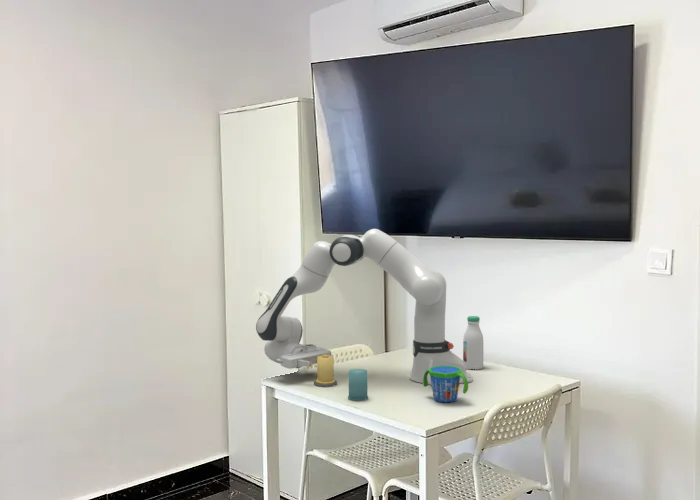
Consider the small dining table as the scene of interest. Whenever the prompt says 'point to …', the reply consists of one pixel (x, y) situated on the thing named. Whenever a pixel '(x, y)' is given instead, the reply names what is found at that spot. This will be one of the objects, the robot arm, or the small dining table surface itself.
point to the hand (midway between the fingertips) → (320, 362)
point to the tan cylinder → (325, 370)
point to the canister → (357, 385)
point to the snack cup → (445, 382)
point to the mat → (325, 385)
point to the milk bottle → (473, 344)
